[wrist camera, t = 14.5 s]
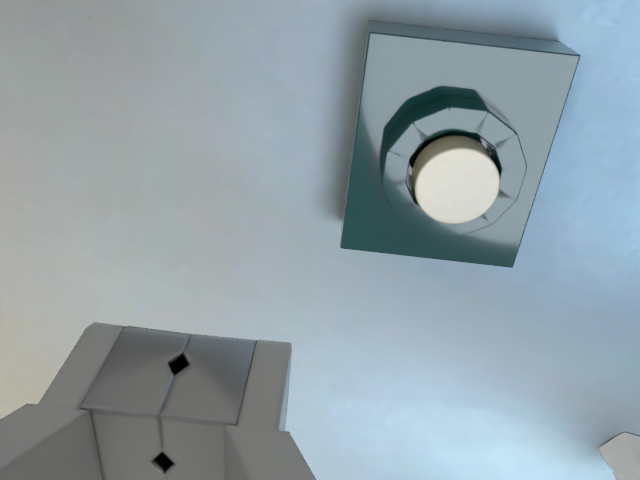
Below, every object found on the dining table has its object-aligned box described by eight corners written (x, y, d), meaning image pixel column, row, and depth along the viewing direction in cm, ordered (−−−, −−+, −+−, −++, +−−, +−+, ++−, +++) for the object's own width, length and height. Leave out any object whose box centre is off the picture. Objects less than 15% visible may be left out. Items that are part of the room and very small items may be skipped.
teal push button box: (368, 19, 30) (369, 39, 25) (560, 41, 30) (594, 64, 25) (341, 222, 36) (339, 265, 31) (501, 240, 36) (520, 286, 31)
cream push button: (419, 130, 28) (423, 143, 26) (502, 139, 28) (510, 153, 26) (405, 203, 30) (407, 219, 28) (482, 212, 30) (488, 229, 28)
